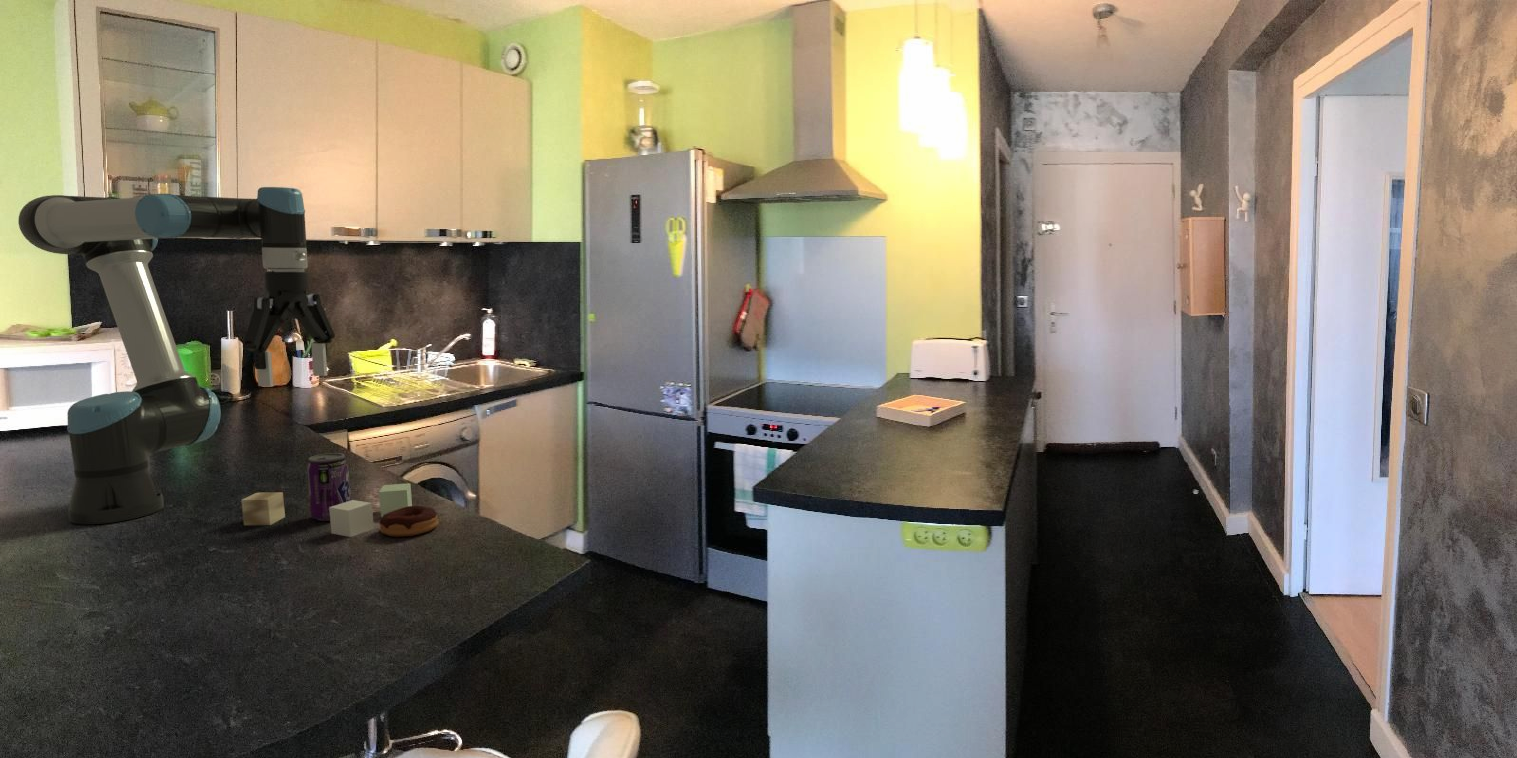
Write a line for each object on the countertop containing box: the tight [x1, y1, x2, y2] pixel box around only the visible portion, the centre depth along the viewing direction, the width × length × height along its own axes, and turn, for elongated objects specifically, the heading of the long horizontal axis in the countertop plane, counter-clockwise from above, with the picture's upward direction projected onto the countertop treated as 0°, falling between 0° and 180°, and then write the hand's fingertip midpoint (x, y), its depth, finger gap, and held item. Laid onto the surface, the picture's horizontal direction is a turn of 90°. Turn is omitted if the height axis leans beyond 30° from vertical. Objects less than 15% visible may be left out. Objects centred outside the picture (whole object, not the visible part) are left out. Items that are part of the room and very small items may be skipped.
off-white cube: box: [329, 499, 375, 538], centre depth 157 cm, size 5×5×5 cm
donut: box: [378, 505, 440, 538], centre depth 157 cm, size 10×10×4 cm
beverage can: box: [306, 452, 352, 522], centre depth 165 cm, size 7×7×12 cm
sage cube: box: [378, 483, 413, 518], centre depth 168 cm, size 5×5×5 cm
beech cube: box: [241, 491, 286, 526], centre depth 164 cm, size 5×5×5 cm
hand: (294, 380), depth 167 cm, fingers open, 13 cm apart
